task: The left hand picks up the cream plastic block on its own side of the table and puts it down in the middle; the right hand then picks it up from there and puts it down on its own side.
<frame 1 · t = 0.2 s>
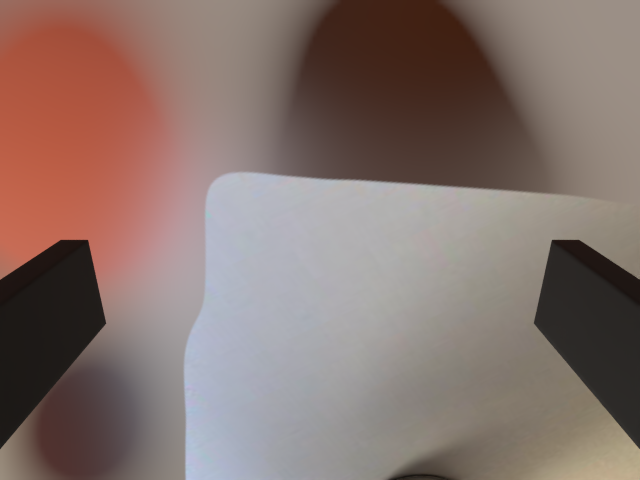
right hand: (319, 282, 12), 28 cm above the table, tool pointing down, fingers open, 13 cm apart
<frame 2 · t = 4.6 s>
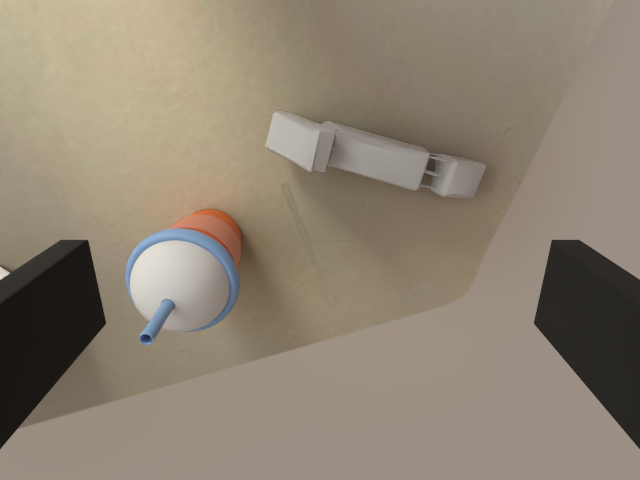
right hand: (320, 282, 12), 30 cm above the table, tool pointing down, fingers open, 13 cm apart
cup with straw: (212, 236, 44), on the table
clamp: (373, 152, 41), on the table
when the left hand's fingers open (5 cm above the table, at t = 10.9 s): block drops 1 cm, on the table.
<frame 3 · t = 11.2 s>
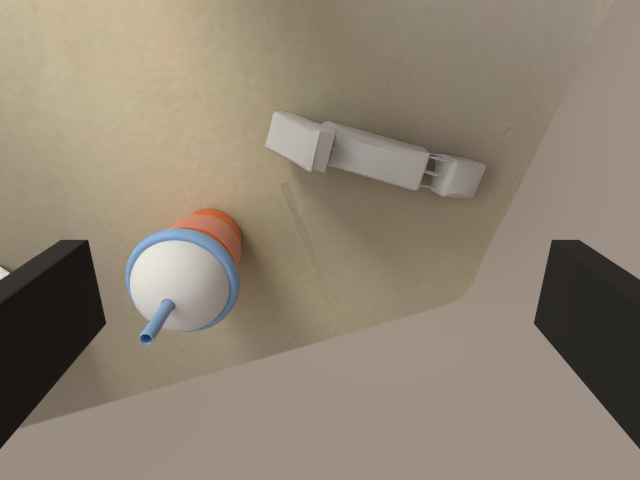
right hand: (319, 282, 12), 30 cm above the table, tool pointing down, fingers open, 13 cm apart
cup with straw: (212, 236, 44), on the table
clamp: (373, 152, 41), on the table
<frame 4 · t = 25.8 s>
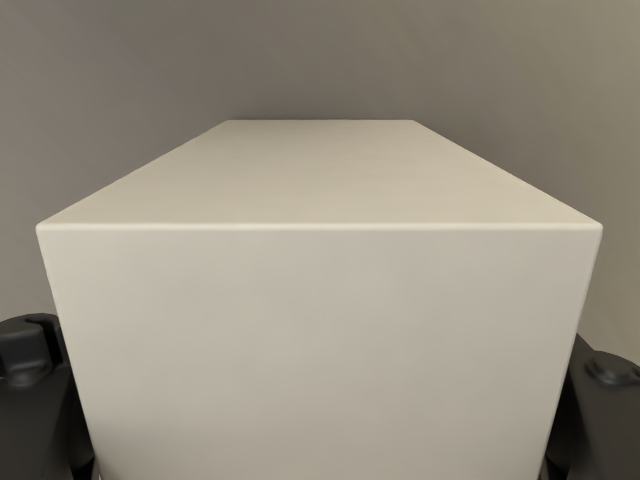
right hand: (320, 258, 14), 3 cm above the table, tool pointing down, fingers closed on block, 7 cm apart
block: (320, 225, 17), on the table, touching right hand
when the right hand's fingers open (5 cm above the table, at t = 34.4 s): block drops 1 cm, on the table.
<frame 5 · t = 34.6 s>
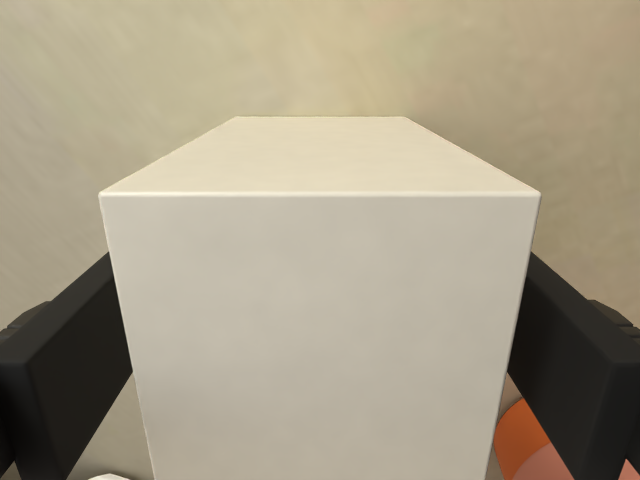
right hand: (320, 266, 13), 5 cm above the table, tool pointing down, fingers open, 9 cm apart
cup with straw: (549, 428, 23), on the table
block: (320, 214, 18), on the table
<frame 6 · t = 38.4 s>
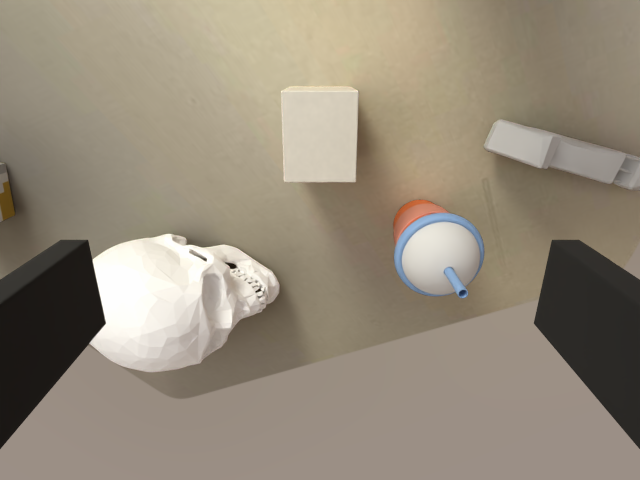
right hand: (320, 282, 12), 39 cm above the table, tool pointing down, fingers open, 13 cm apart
skull: (197, 272, 56), on the table
cup with straw: (417, 222, 53), on the table
block: (320, 123, 49), on the table
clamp: (562, 153, 50), on the table
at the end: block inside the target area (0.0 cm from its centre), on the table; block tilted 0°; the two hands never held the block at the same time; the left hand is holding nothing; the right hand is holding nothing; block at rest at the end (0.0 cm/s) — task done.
